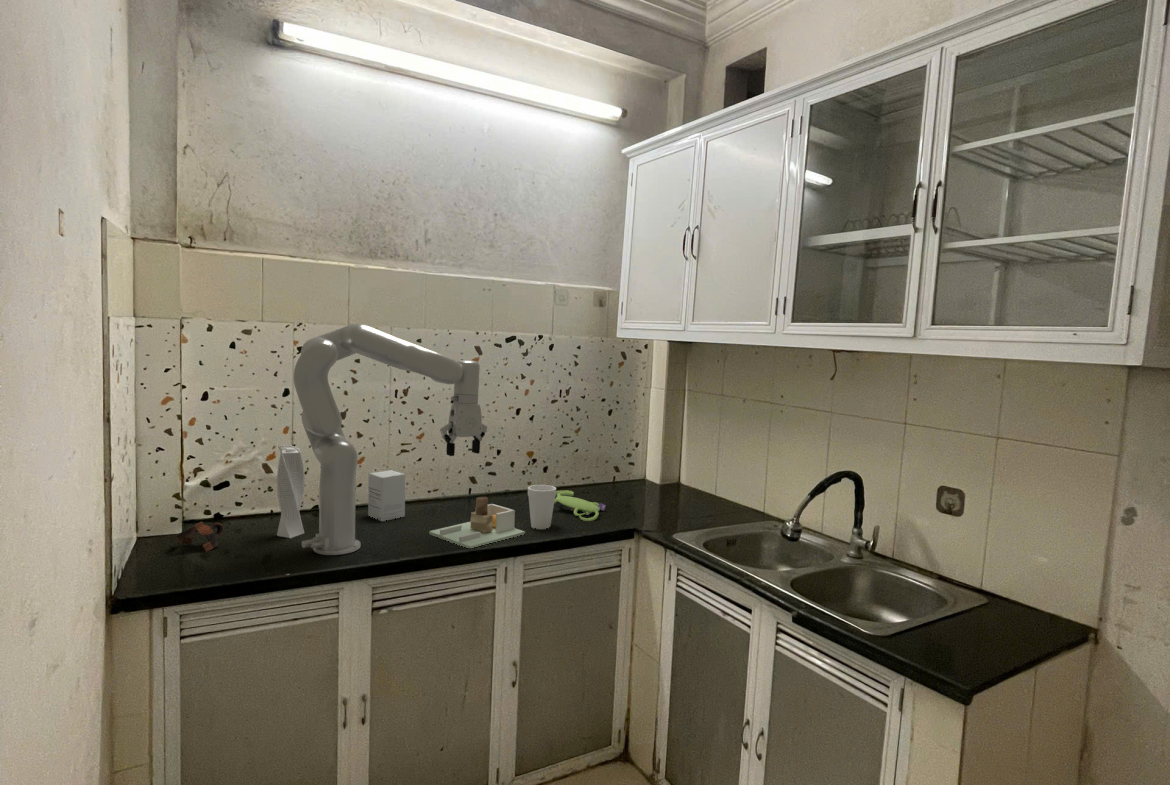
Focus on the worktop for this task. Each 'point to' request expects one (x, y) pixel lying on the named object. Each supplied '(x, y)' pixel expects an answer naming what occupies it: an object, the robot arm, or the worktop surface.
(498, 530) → the pitch
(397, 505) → the supplement box
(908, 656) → the worktop surface
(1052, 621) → the worktop surface
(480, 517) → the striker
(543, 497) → the foam cup
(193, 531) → the brown irregular piece
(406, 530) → the worktop surface
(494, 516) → the ball
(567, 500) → the figurine
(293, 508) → the skyscraper
